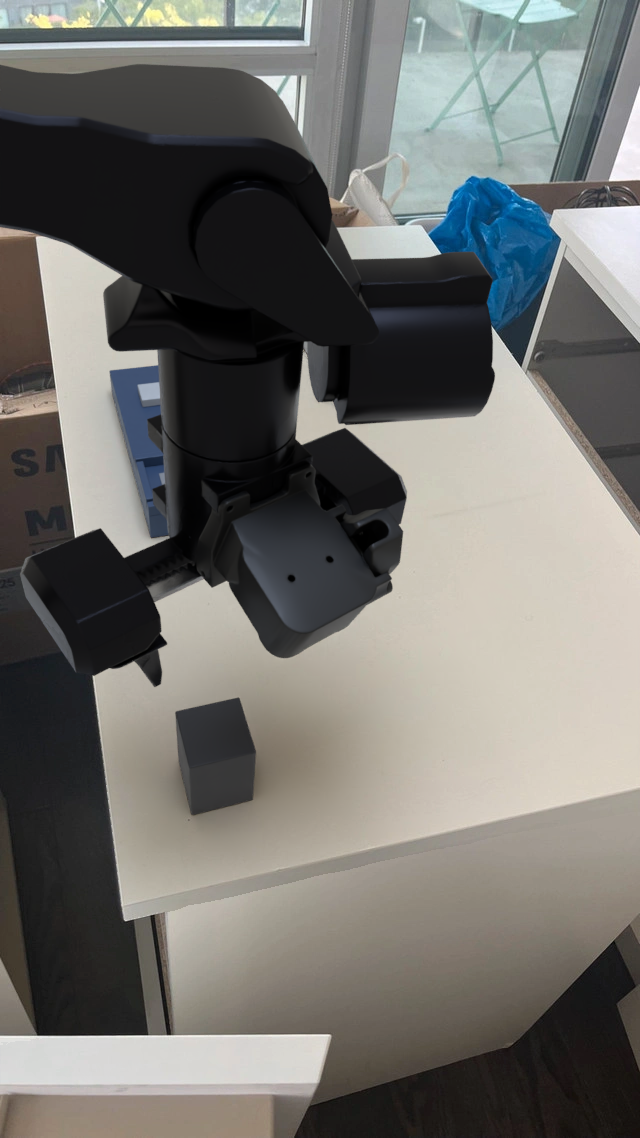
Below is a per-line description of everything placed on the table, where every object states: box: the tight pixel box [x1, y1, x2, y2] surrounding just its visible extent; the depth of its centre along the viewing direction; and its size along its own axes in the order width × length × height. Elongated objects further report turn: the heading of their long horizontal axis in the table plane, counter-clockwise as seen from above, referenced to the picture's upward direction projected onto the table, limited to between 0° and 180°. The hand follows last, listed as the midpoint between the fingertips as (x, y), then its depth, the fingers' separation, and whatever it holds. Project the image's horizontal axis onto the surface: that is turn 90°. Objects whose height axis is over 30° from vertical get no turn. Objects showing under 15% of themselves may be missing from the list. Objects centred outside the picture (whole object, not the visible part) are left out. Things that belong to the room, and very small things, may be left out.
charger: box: [174, 697, 257, 816], centre depth 53 cm, size 4×4×6 cm
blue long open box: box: [109, 364, 169, 539], centre depth 75 cm, size 6×20×4 cm, turn 18°
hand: (226, 642), depth 47 cm, fingers open, 9 cm apart
